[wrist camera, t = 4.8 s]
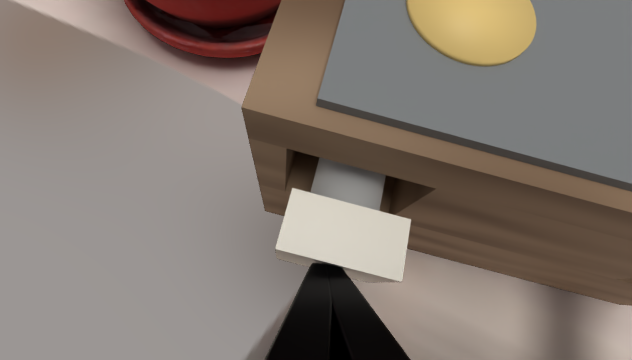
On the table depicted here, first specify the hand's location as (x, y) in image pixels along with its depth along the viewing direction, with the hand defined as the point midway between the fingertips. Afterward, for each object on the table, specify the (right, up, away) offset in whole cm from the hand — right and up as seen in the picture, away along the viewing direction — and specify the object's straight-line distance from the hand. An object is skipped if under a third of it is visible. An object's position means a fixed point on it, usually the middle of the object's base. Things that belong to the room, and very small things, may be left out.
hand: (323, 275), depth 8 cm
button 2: (+1, +4, +4) cm, 6 cm away
